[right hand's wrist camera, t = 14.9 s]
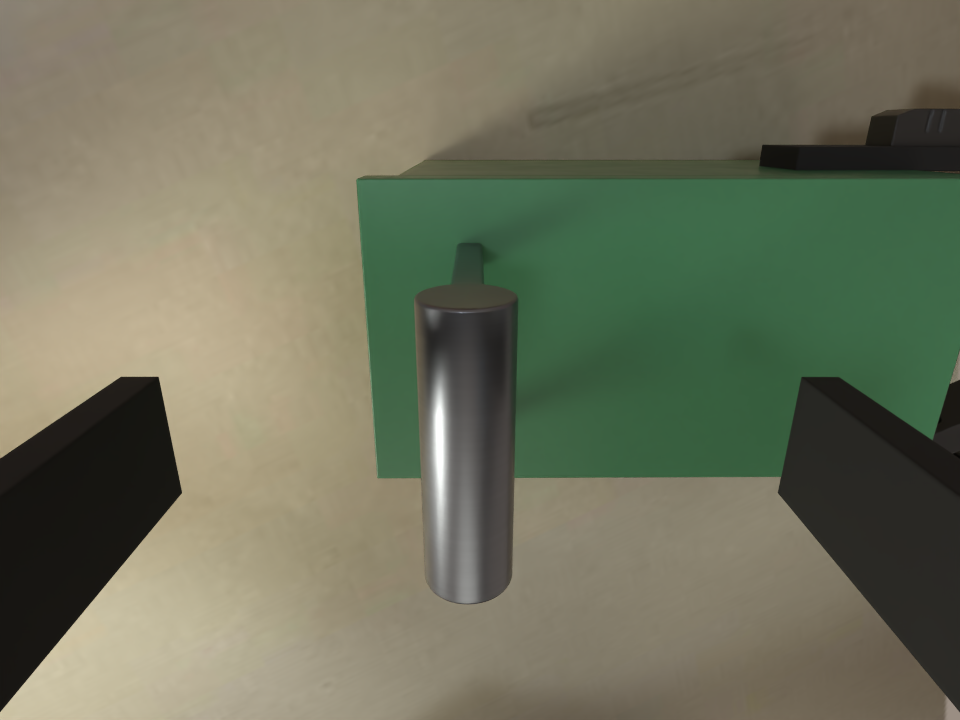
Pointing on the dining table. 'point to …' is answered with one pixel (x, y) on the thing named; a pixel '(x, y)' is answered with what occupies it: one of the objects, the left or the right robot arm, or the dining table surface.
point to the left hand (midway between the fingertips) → (754, 298)
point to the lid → (635, 330)
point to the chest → (623, 168)
